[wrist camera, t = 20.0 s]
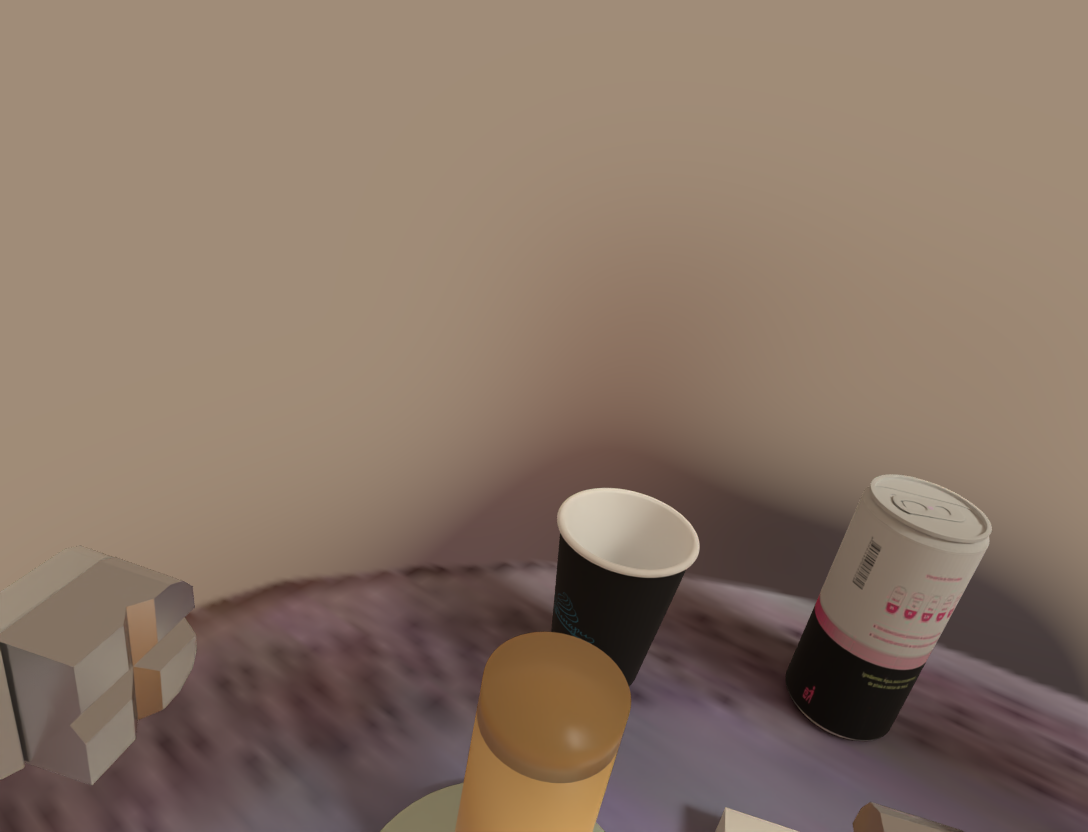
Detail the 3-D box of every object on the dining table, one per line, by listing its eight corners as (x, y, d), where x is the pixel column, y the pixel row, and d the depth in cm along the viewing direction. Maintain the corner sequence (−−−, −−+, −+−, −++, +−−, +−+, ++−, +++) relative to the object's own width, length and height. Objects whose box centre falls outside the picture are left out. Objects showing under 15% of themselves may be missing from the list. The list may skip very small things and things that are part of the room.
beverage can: (773, 655, 49) (851, 464, 42) (868, 672, 49) (961, 484, 43) (797, 736, 43) (893, 528, 36) (906, 754, 43) (1020, 551, 37)
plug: (543, 1011, 28) (619, 772, 22) (419, 963, 28) (461, 719, 22) (570, 884, 32) (639, 656, 26) (463, 845, 33) (507, 615, 27)
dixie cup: (503, 688, 43) (534, 534, 38) (555, 610, 49) (587, 472, 44) (631, 749, 40) (681, 594, 35) (667, 658, 47) (713, 518, 42)
